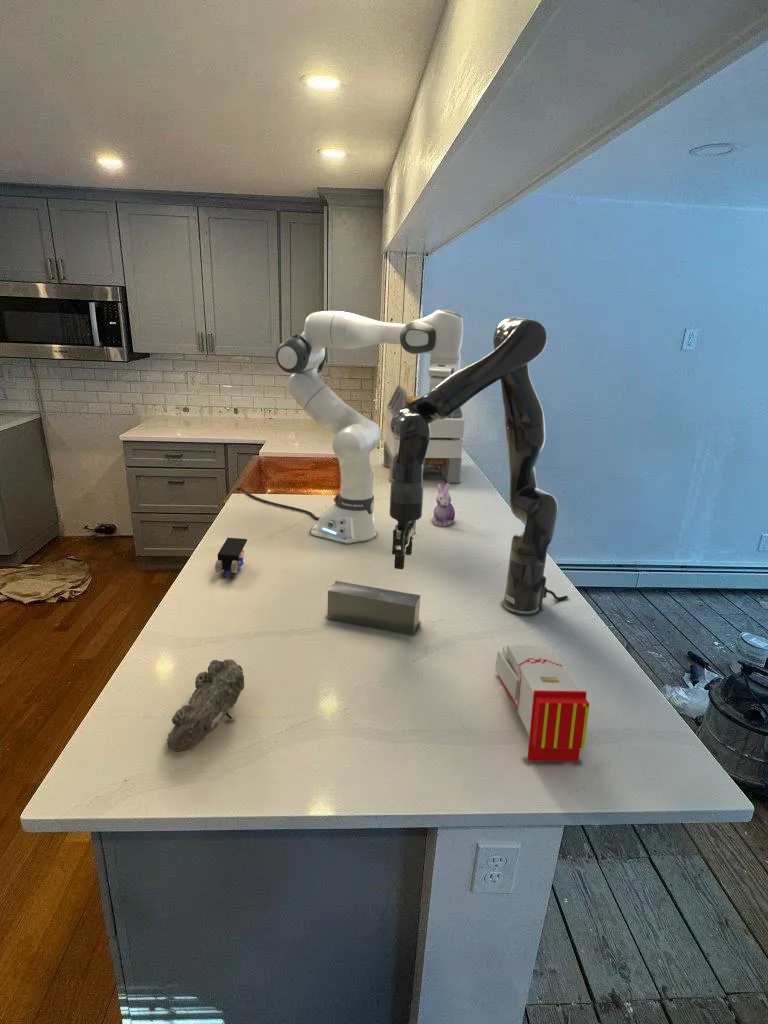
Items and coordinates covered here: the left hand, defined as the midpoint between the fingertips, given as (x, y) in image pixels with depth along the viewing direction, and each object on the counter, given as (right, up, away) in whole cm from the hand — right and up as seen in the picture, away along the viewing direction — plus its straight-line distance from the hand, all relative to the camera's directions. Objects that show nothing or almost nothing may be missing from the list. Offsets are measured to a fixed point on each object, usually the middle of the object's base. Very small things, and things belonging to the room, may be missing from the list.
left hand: (440, 414), depth 172 cm
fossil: (-50, -69, -64) cm, 106 cm away
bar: (-20, -57, -28) cm, 67 cm away
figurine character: (-62, -47, -4) cm, 78 cm away
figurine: (+5, -33, +40) cm, 53 cm away
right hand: (-12, -41, -36) cm, 56 cm away
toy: (+13, -69, -58) cm, 91 cm away
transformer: (0, -11, +103) cm, 104 cm away
